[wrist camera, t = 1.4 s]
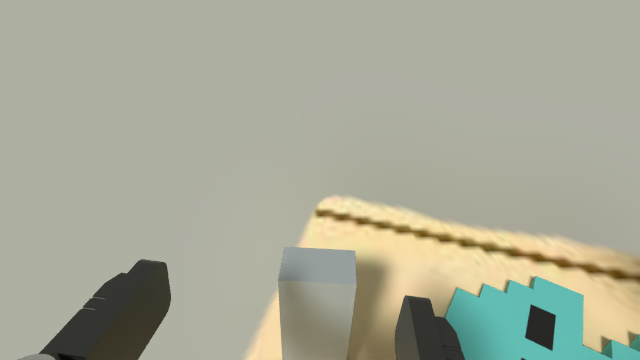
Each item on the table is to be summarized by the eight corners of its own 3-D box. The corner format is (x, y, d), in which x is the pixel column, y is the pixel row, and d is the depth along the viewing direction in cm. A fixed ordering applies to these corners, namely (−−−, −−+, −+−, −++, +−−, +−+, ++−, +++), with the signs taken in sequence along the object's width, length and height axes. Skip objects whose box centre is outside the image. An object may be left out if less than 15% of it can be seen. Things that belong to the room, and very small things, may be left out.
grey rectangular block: (342, 354, 31) (354, 250, 24) (343, 388, 29) (356, 284, 22) (288, 350, 31) (284, 246, 24) (283, 385, 29) (278, 280, 22)
